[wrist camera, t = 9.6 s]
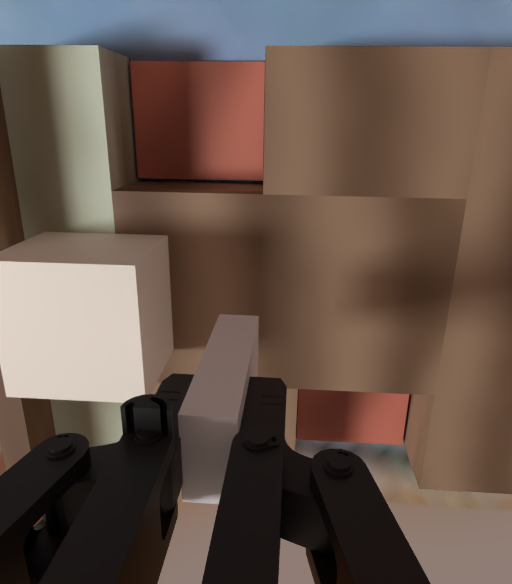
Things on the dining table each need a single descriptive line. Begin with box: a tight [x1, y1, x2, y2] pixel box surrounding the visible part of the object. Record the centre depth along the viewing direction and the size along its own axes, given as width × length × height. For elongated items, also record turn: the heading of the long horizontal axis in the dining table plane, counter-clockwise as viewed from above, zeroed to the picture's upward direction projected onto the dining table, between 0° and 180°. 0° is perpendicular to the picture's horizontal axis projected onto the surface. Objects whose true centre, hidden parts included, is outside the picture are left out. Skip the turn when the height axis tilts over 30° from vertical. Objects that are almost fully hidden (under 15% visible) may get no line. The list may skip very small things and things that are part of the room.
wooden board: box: [0, 45, 512, 494], centre depth 24 cm, size 30×22×6 cm
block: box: [0, 232, 174, 403], centre depth 21 cm, size 6×6×5 cm
